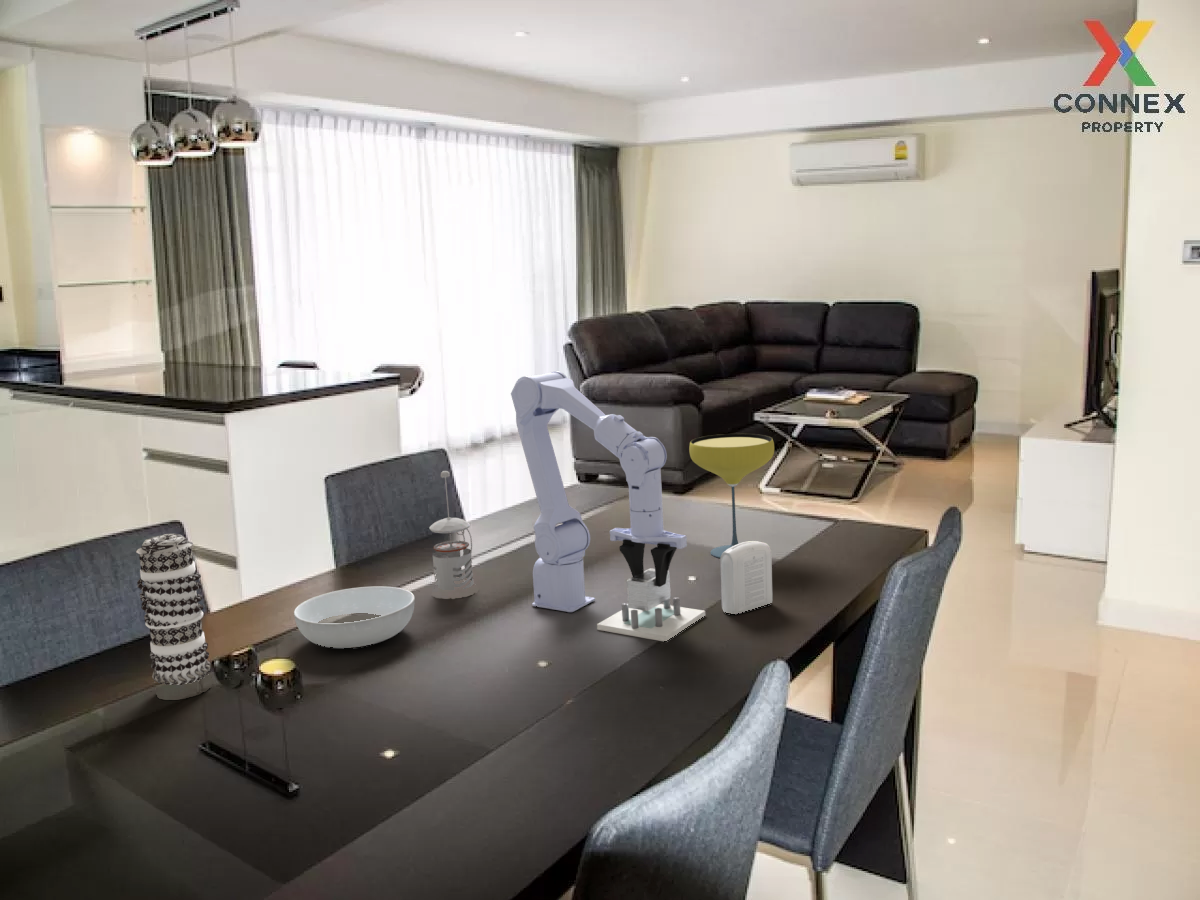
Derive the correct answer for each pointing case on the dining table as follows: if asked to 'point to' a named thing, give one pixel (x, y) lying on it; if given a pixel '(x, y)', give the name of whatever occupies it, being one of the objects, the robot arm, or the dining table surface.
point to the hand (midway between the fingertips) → (649, 583)
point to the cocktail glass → (731, 462)
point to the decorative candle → (173, 610)
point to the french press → (452, 552)
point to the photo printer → (746, 577)
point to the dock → (652, 621)
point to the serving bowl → (371, 600)
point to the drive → (647, 591)
